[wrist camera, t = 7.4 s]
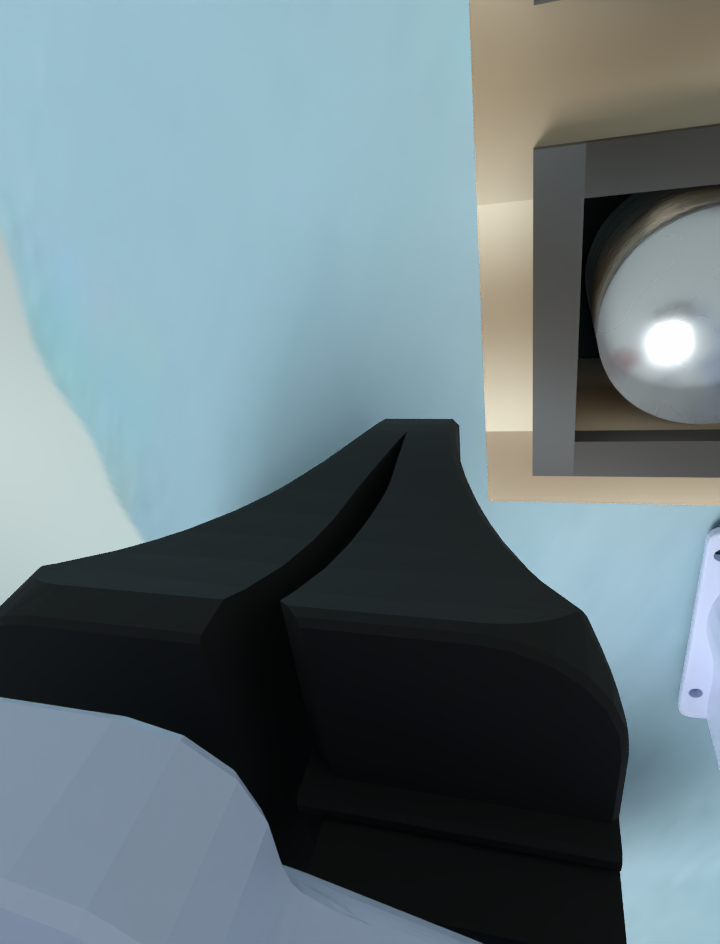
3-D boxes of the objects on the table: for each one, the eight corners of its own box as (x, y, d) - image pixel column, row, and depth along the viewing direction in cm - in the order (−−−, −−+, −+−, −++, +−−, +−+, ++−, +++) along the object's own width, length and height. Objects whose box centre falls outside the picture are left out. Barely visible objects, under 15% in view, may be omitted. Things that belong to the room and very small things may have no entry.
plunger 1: (758, 345, 18) (821, 423, 14) (581, 352, 19) (592, 425, 15) (792, 161, 16) (882, 189, 11) (588, 184, 17) (603, 216, 13)
